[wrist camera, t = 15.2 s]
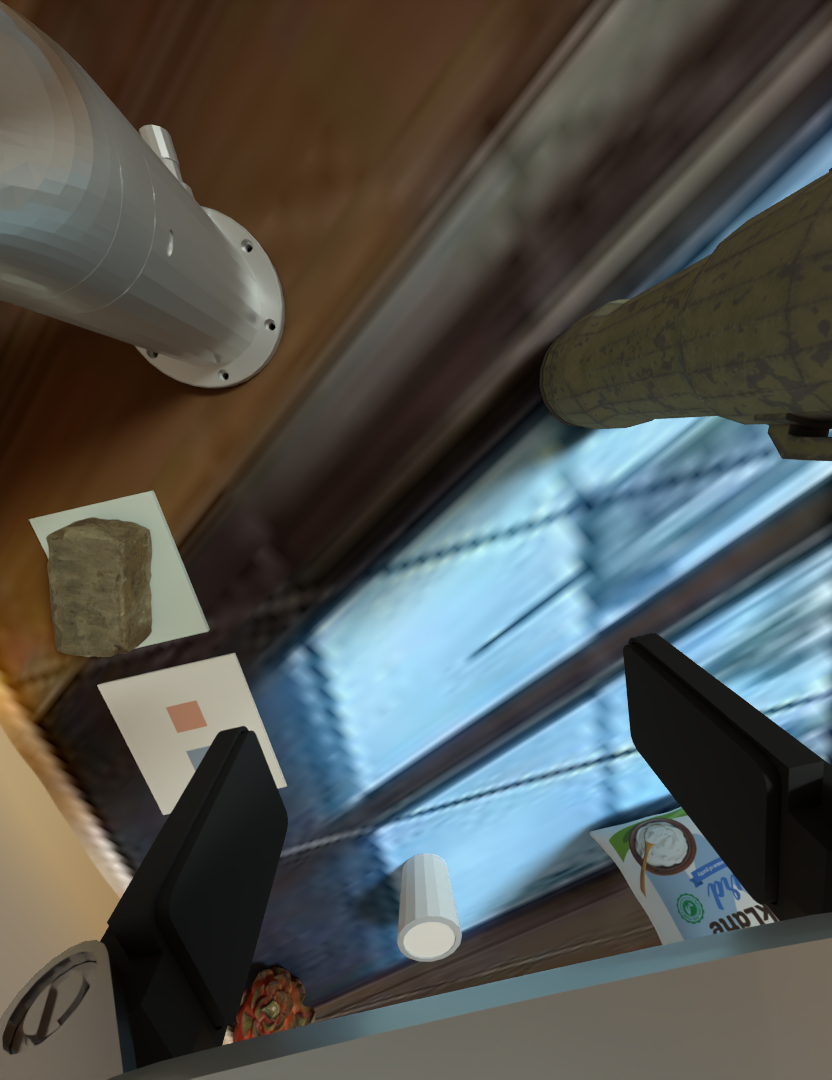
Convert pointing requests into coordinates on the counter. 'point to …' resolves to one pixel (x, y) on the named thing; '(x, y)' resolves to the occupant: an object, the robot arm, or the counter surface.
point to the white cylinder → (427, 910)
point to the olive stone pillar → (717, 338)
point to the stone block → (100, 586)
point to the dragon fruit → (272, 1005)
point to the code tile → (183, 720)
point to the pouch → (680, 878)
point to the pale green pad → (169, 580)
